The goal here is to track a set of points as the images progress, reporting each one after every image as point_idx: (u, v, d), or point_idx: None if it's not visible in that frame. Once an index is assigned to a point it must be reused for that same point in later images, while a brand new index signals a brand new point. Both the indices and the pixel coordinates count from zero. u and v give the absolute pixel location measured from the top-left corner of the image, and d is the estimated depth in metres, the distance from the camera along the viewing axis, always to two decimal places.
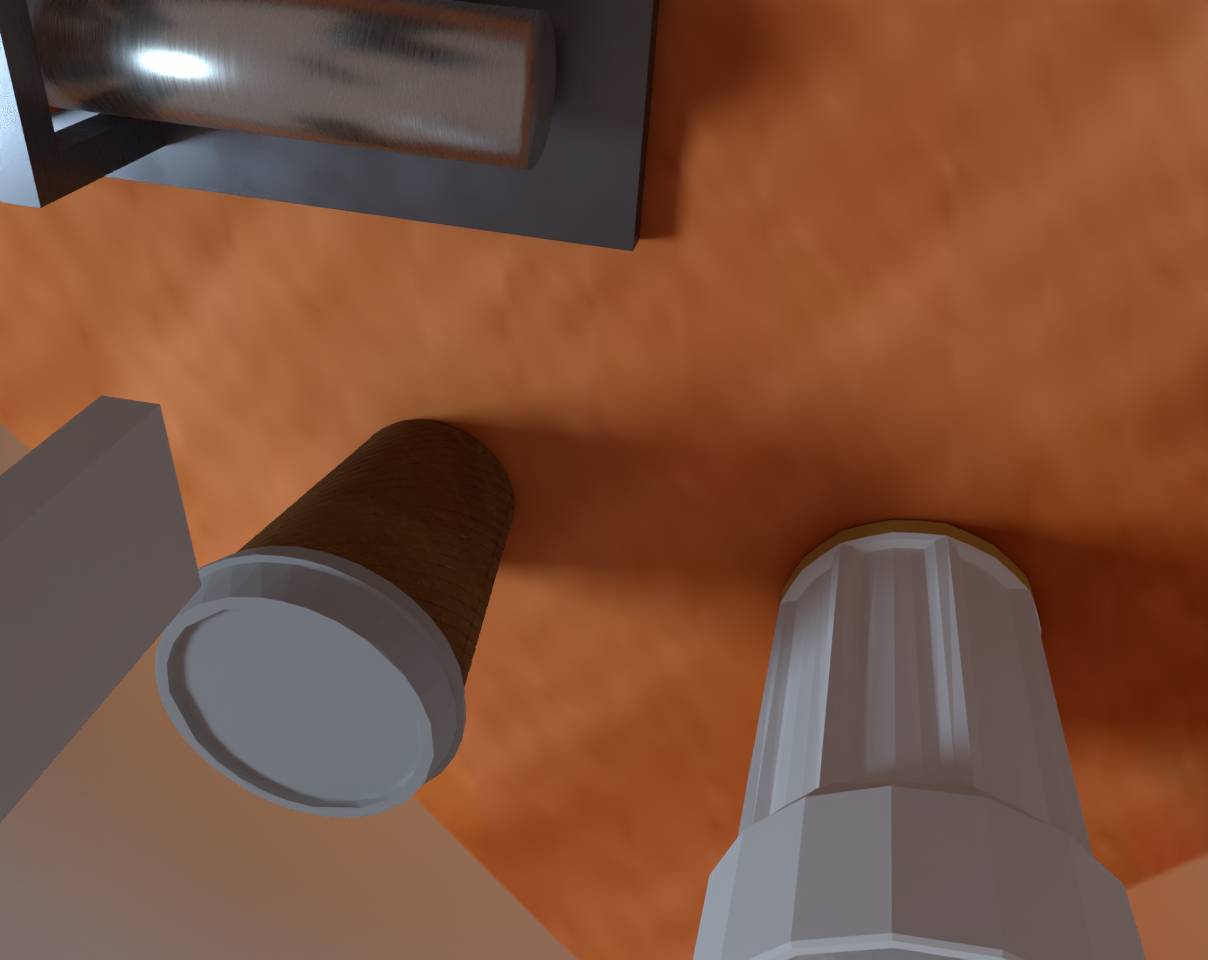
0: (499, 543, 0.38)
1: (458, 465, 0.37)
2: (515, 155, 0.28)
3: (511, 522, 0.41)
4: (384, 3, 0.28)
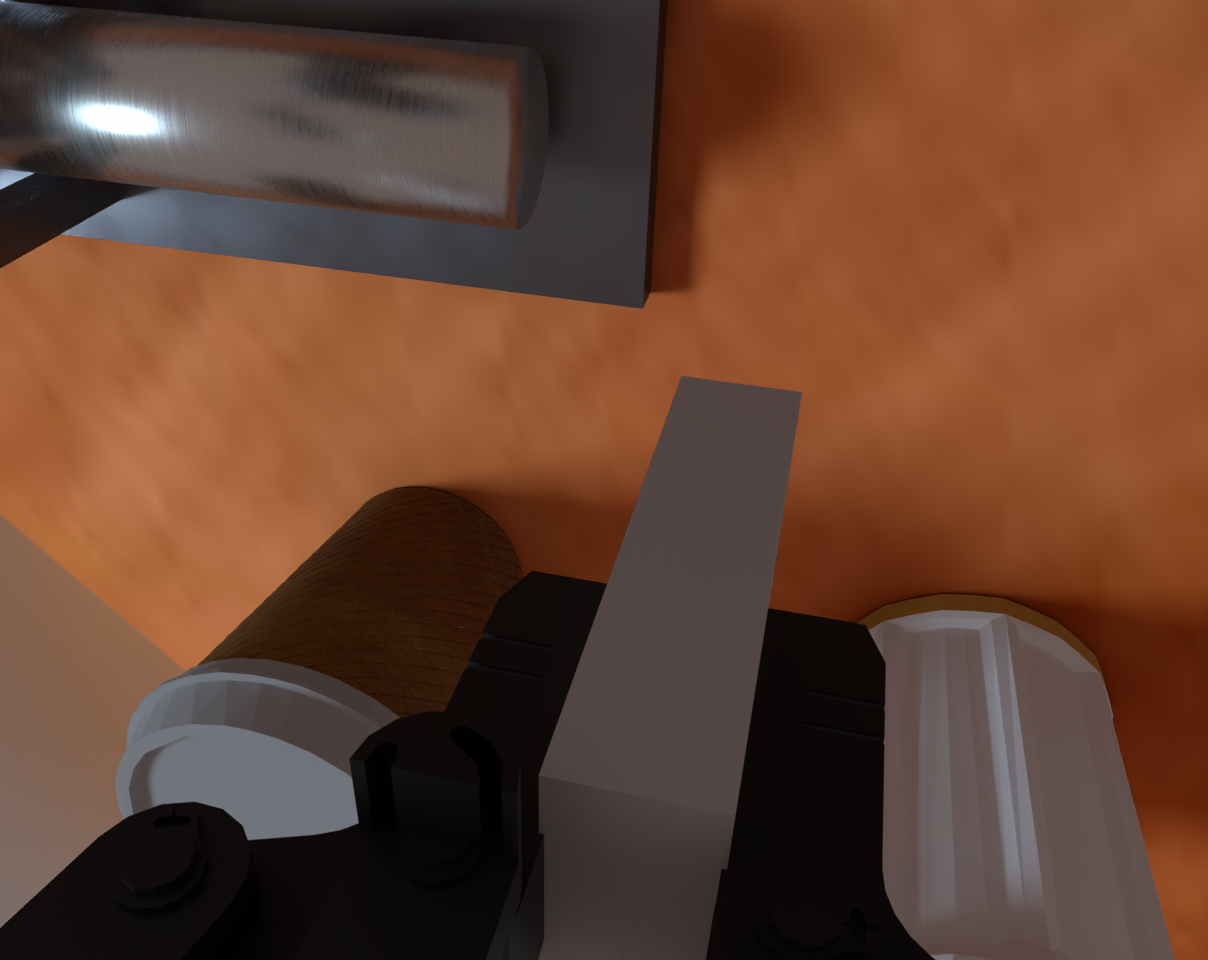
0: None
1: (456, 541, 0.34)
2: (501, 216, 0.24)
3: None
4: (345, 44, 0.24)
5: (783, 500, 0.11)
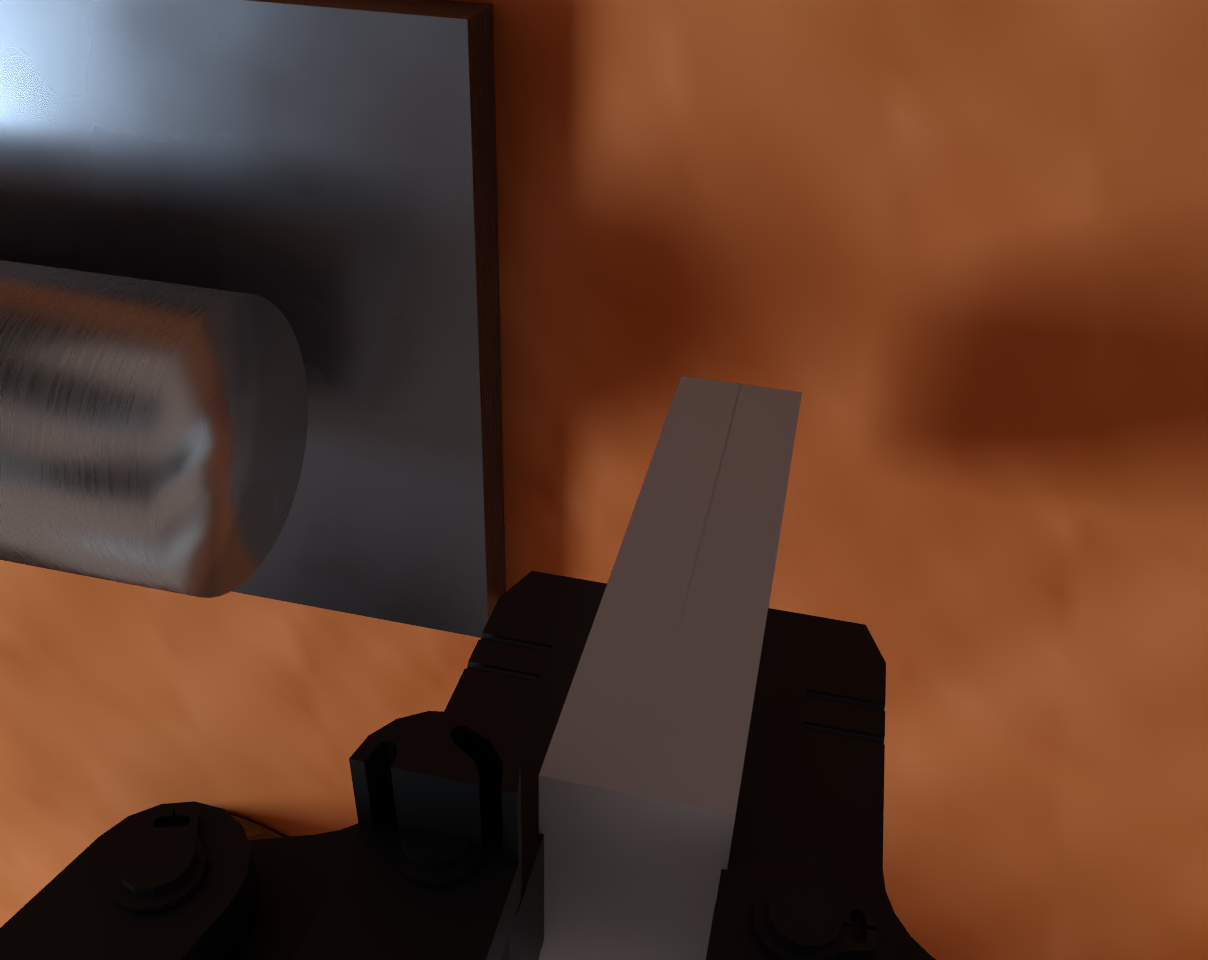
0: None
1: None
2: (184, 592, 0.14)
3: None
4: None
5: (783, 500, 0.11)
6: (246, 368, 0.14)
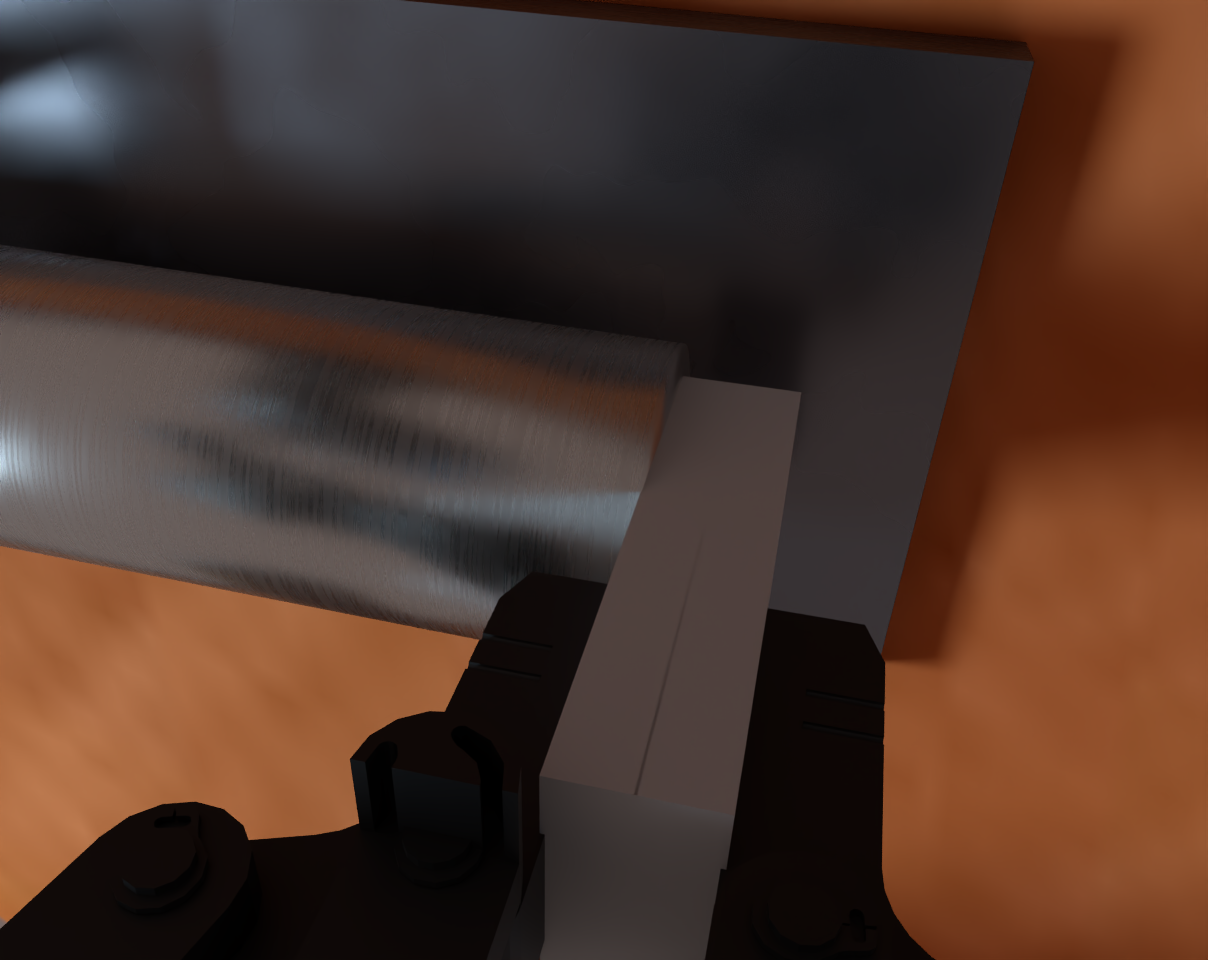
0: None
1: None
2: None
3: None
4: (322, 342, 0.12)
5: (783, 500, 0.11)
6: None
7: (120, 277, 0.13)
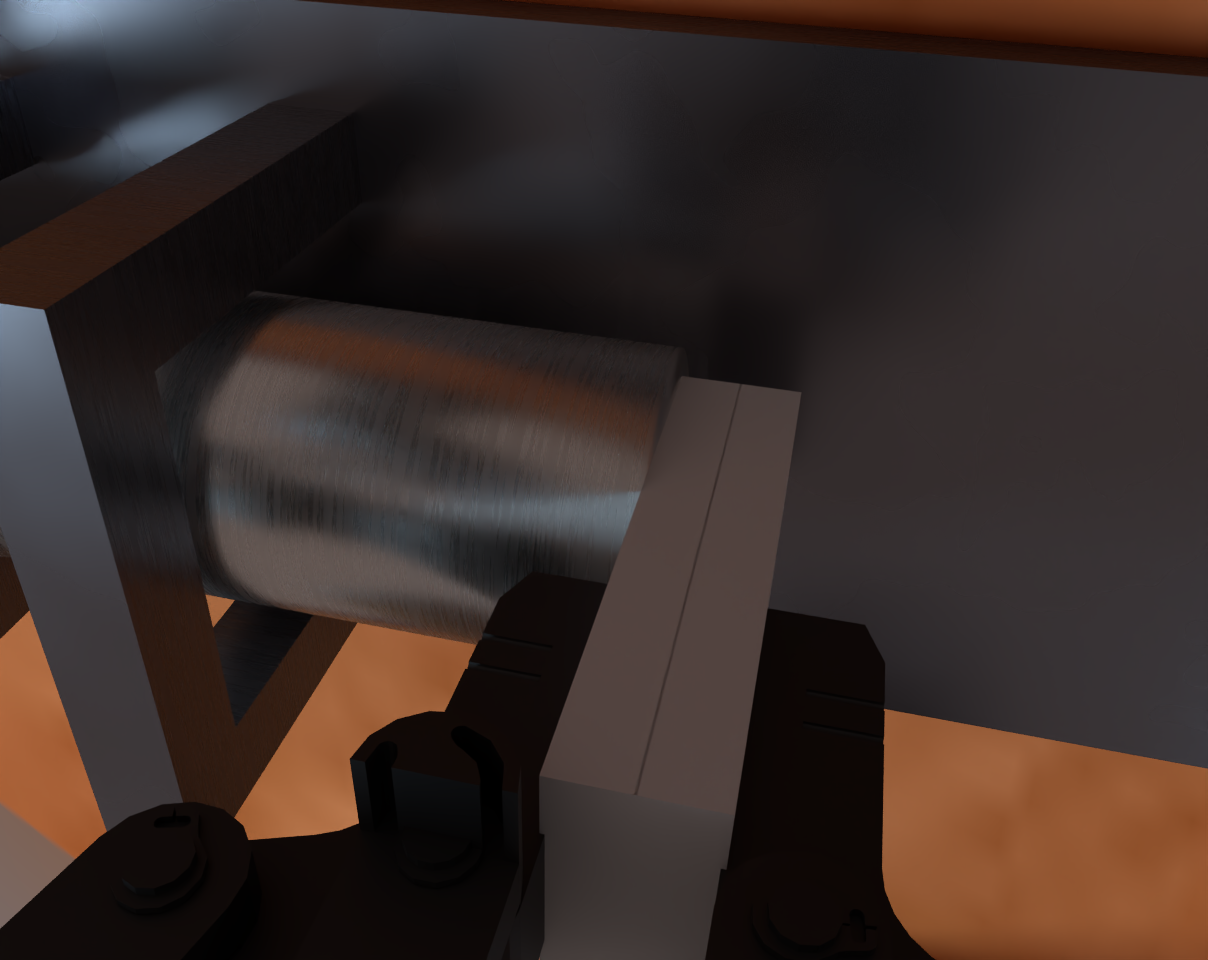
0: None
1: None
2: None
3: None
4: (320, 352, 0.12)
5: (783, 500, 0.11)
6: None
7: None
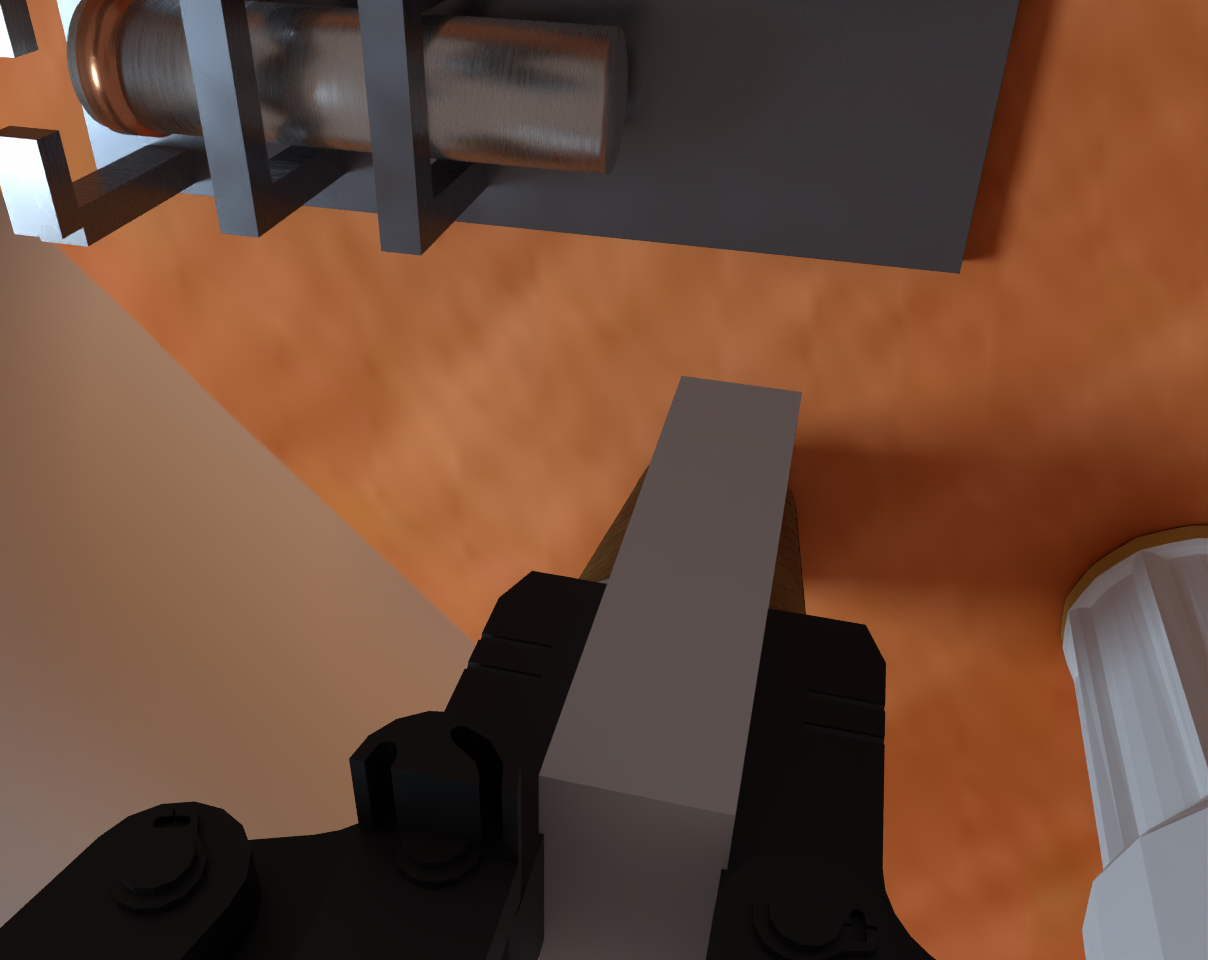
0: None
1: None
2: (596, 162, 0.30)
3: None
4: (472, 26, 0.30)
5: (783, 500, 0.11)
6: (618, 65, 0.31)
7: None
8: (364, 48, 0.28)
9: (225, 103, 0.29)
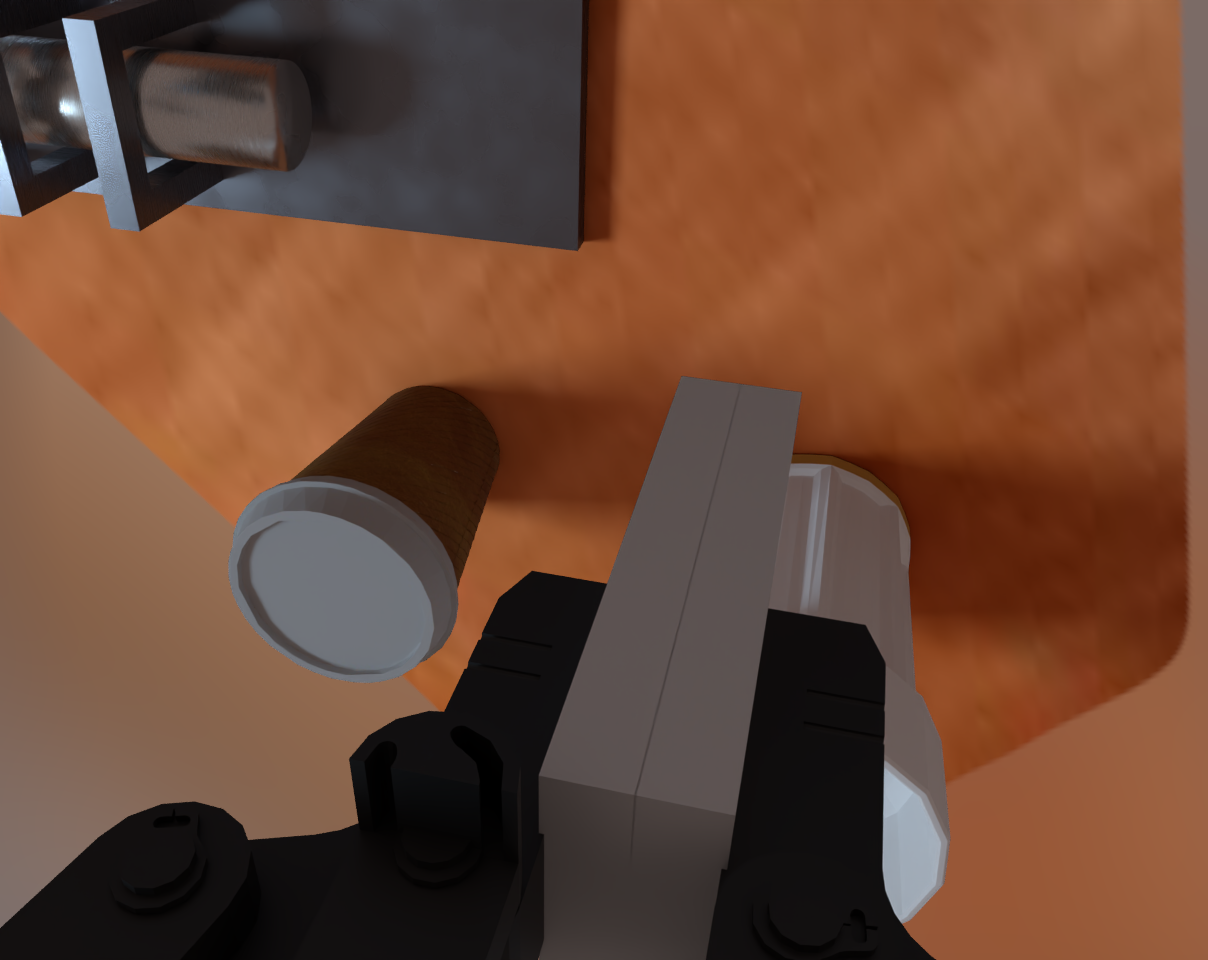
0: (486, 480, 0.49)
1: (453, 419, 0.48)
2: (270, 162, 0.40)
3: (497, 466, 0.51)
4: (174, 58, 0.40)
5: (783, 500, 0.11)
6: (290, 88, 0.40)
7: None
8: (77, 76, 0.38)
9: None
